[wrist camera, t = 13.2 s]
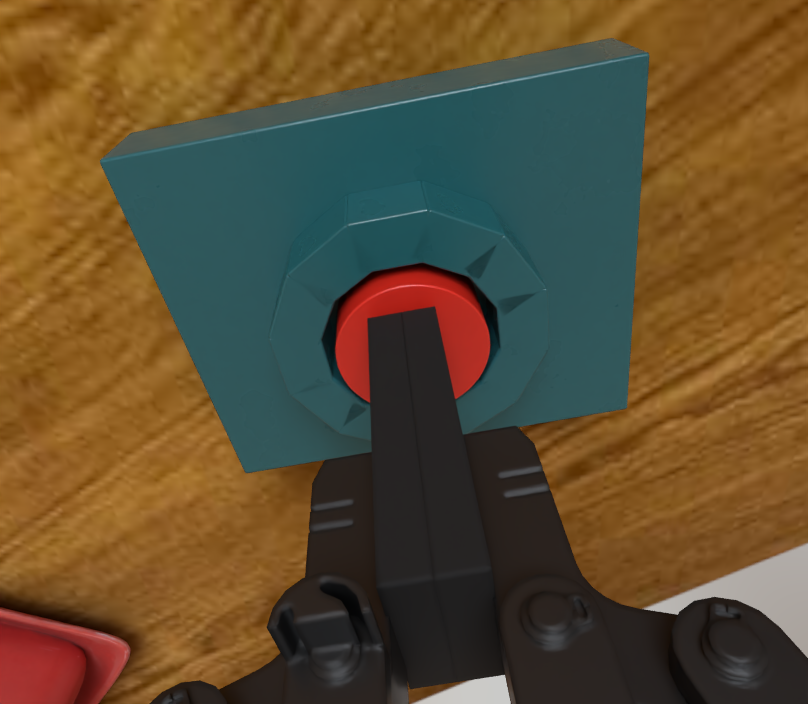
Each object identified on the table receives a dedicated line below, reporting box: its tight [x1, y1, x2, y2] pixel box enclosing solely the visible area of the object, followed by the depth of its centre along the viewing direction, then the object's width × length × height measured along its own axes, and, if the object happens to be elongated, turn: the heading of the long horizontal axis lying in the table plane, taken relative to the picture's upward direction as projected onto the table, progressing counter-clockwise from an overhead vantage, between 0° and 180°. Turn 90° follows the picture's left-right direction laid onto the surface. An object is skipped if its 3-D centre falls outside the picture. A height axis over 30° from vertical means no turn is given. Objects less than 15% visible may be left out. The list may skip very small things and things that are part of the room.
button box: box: [100, 38, 649, 473], centre depth 16 cm, size 12×10×4 cm
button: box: [335, 263, 490, 403], centre depth 15 cm, size 4×4×2 cm
